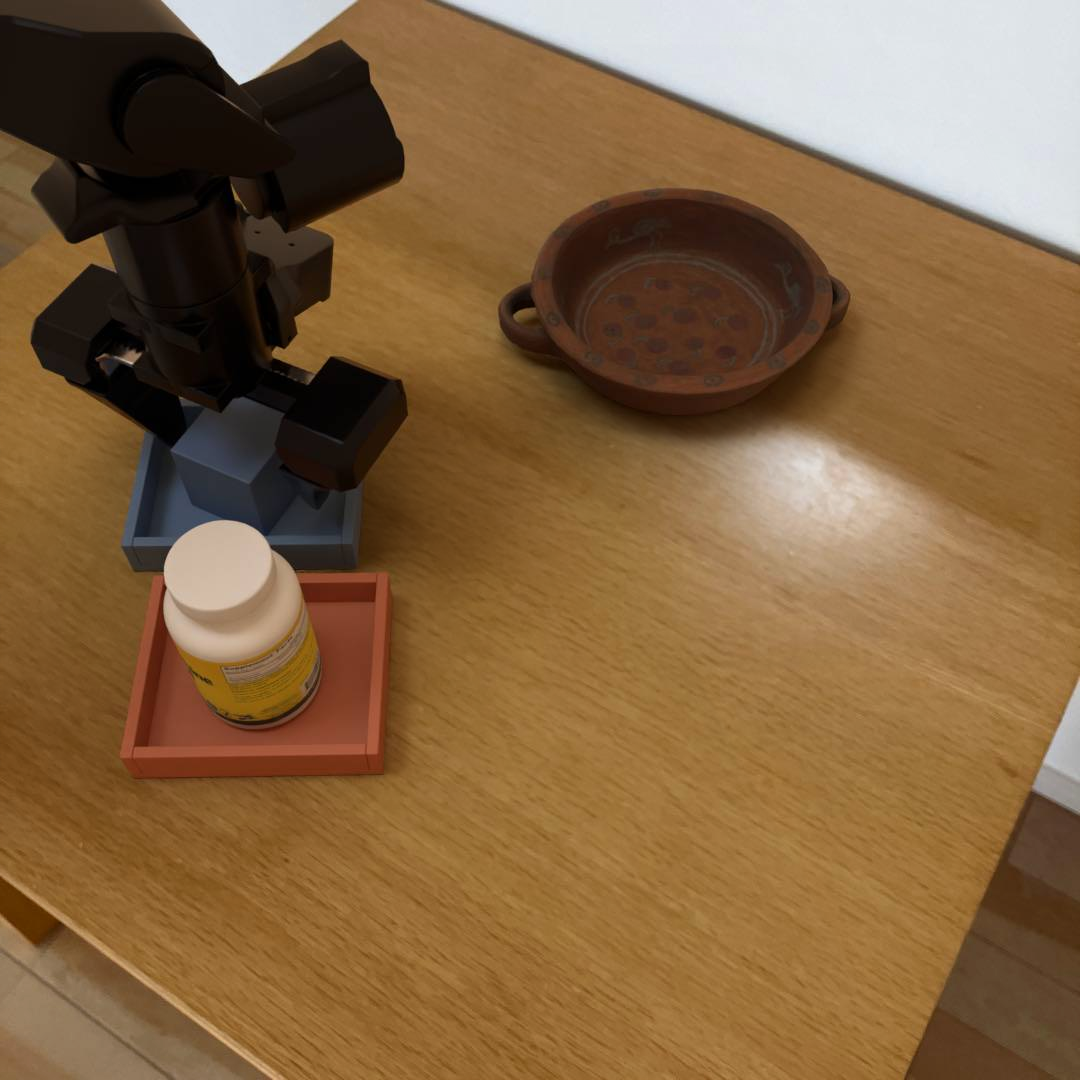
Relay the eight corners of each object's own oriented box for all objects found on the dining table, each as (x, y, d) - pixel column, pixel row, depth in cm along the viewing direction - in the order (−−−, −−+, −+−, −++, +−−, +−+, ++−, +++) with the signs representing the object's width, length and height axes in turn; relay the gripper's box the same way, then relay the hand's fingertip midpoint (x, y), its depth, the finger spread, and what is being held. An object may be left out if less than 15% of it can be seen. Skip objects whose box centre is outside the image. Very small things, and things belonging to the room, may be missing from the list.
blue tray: (133, 571, 63) (120, 546, 61) (162, 426, 69) (151, 398, 67) (357, 568, 64) (352, 543, 62) (367, 424, 69) (363, 397, 67)
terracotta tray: (133, 778, 57) (118, 758, 55) (165, 599, 62) (153, 574, 60) (383, 774, 57) (378, 754, 55) (392, 596, 63) (388, 572, 61)
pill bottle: (189, 648, 60) (131, 528, 51) (305, 610, 62) (268, 487, 52) (217, 752, 57) (160, 644, 48) (338, 709, 58) (306, 597, 49)
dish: (878, 430, 70) (901, 375, 66) (514, 460, 68) (514, 405, 64) (807, 233, 79) (823, 173, 75) (486, 254, 78) (485, 195, 73)
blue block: (266, 538, 64) (249, 484, 60) (191, 505, 65) (169, 450, 61) (314, 473, 67) (301, 417, 63) (241, 442, 68) (223, 385, 64)
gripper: (453, 217, 54) (464, 430, 67) (122, 102, 58) (194, 324, 71) (327, 380, 48) (366, 578, 61) (-29, 240, 52) (78, 453, 65)
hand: (249, 473), depth 65 cm, fingers open, 9 cm apart
